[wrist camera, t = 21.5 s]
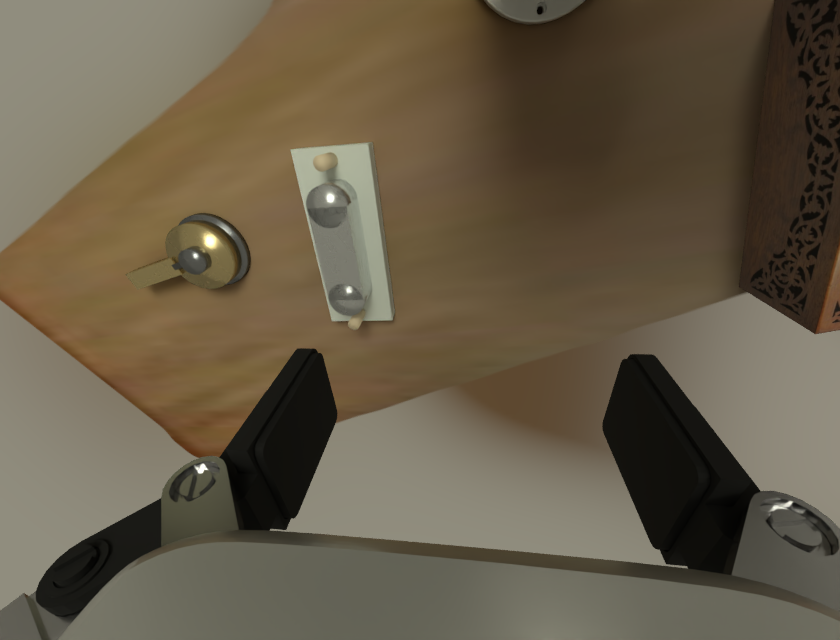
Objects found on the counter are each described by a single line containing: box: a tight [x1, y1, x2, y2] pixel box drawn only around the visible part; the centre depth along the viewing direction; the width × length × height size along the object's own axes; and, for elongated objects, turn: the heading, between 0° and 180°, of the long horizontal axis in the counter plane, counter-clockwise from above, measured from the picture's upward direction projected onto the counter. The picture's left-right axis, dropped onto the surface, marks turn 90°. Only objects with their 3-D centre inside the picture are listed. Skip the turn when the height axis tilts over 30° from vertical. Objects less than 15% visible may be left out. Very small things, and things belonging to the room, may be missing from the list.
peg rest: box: [291, 142, 395, 330], centre depth 38 cm, size 20×8×5 cm, turn 4°
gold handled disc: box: [125, 220, 242, 290], centre depth 41 cm, size 15×8×3 cm, turn 109°
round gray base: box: [178, 213, 250, 285], centre depth 43 cm, size 9×9×1 cm
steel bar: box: [306, 179, 372, 316], centre depth 37 cm, size 4×14×4 cm, turn 5°
